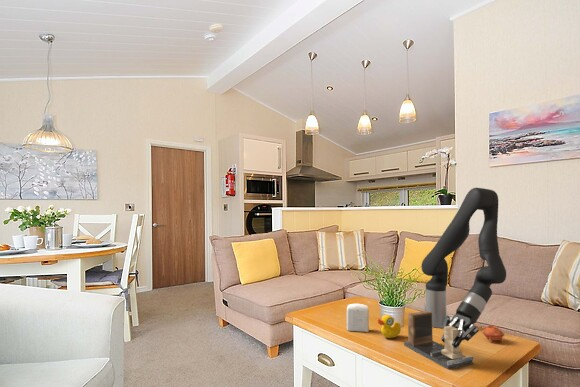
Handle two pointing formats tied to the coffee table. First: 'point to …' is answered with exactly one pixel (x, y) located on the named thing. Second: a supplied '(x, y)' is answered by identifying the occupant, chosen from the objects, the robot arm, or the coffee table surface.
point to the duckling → (389, 326)
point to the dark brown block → (420, 327)
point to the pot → (493, 333)
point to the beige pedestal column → (449, 337)
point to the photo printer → (357, 318)
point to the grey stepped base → (439, 355)
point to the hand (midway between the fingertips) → (448, 343)
